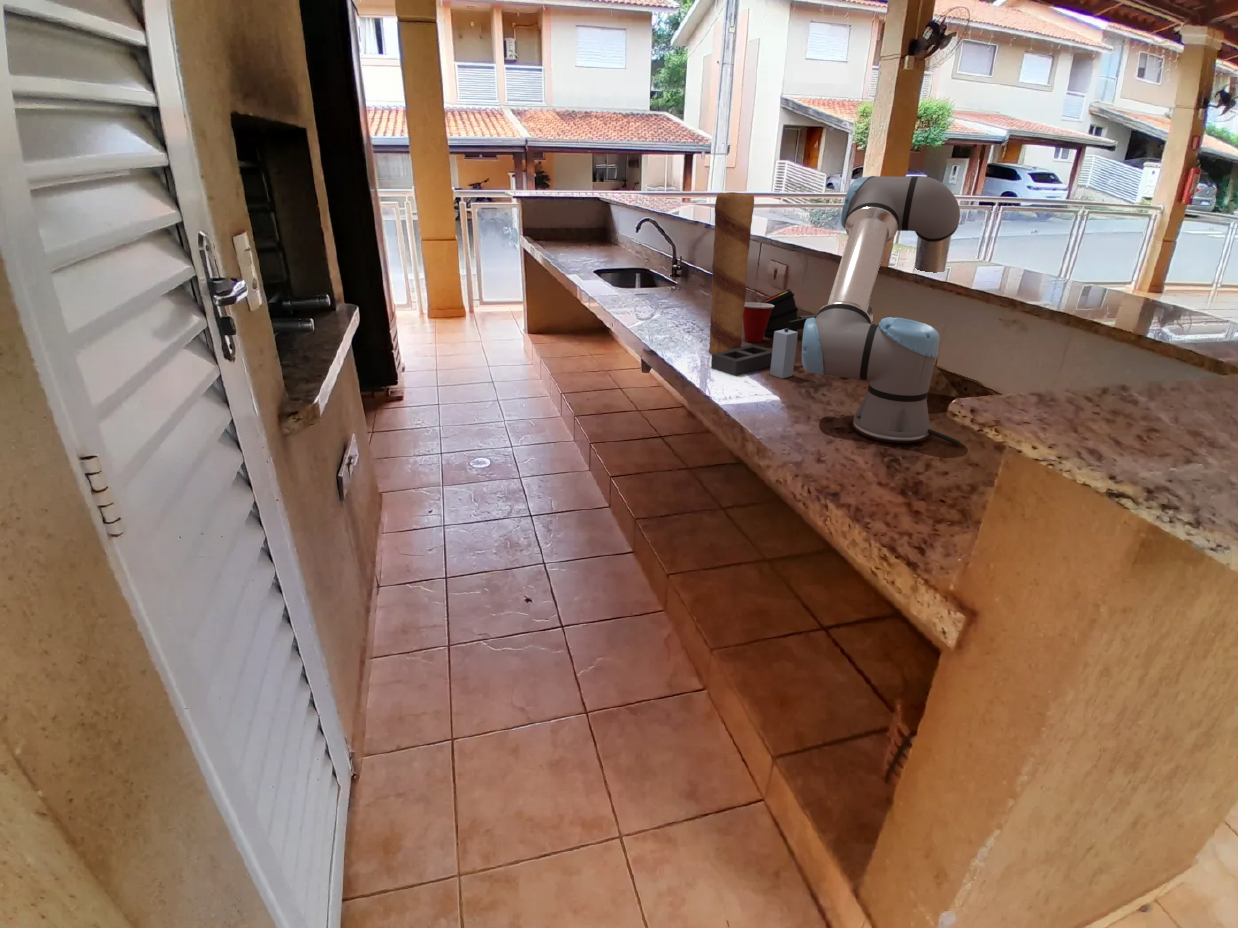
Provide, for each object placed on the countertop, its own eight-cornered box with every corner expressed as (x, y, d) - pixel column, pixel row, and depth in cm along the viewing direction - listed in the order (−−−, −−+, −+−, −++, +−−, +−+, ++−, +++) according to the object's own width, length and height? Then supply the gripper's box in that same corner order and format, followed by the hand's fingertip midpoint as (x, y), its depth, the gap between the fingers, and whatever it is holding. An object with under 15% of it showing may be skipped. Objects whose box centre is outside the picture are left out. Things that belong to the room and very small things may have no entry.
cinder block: (776, 364, 177) (777, 351, 175) (735, 375, 168) (736, 361, 166) (751, 357, 184) (752, 344, 182) (711, 367, 175) (711, 354, 173)
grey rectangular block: (792, 375, 168) (798, 329, 162) (782, 378, 166) (787, 331, 160) (780, 371, 171) (785, 326, 166) (769, 374, 169) (774, 328, 163)
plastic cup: (775, 338, 203) (779, 302, 198) (763, 346, 195) (767, 308, 190) (744, 334, 209) (747, 298, 203) (732, 341, 200) (734, 304, 195)
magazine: (807, 331, 205) (792, 290, 199) (769, 348, 208) (754, 307, 202) (804, 328, 208) (789, 288, 203) (767, 345, 211) (752, 305, 205)
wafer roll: (712, 346, 196) (721, 192, 176) (744, 349, 192) (758, 192, 172) (701, 354, 187) (710, 193, 167) (735, 358, 183) (748, 194, 163)
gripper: (891, 341, 173) (845, 354, 162) (818, 324, 191) (772, 335, 180) (896, 314, 169) (850, 326, 158) (821, 300, 188) (775, 309, 176)
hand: (808, 331), depth 169 cm, fingers open, 13 cm apart
